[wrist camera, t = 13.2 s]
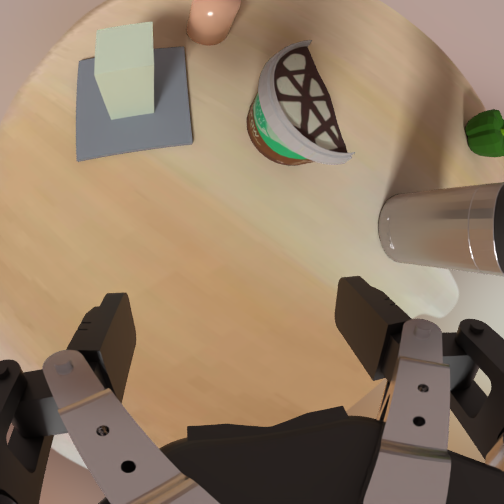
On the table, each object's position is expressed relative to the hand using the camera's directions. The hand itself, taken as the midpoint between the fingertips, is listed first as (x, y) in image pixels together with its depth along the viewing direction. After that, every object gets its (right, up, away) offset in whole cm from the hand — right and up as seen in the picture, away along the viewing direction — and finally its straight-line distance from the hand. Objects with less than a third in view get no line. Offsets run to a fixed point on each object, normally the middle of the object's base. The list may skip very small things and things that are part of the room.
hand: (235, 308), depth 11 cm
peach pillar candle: (-5, +28, +18) cm, 34 cm away
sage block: (-12, +18, +16) cm, 27 cm away
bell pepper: (+41, +23, +32) cm, 57 cm away
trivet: (-12, +18, +17) cm, 27 cm away
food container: (+2, +15, +21) cm, 26 cm away
